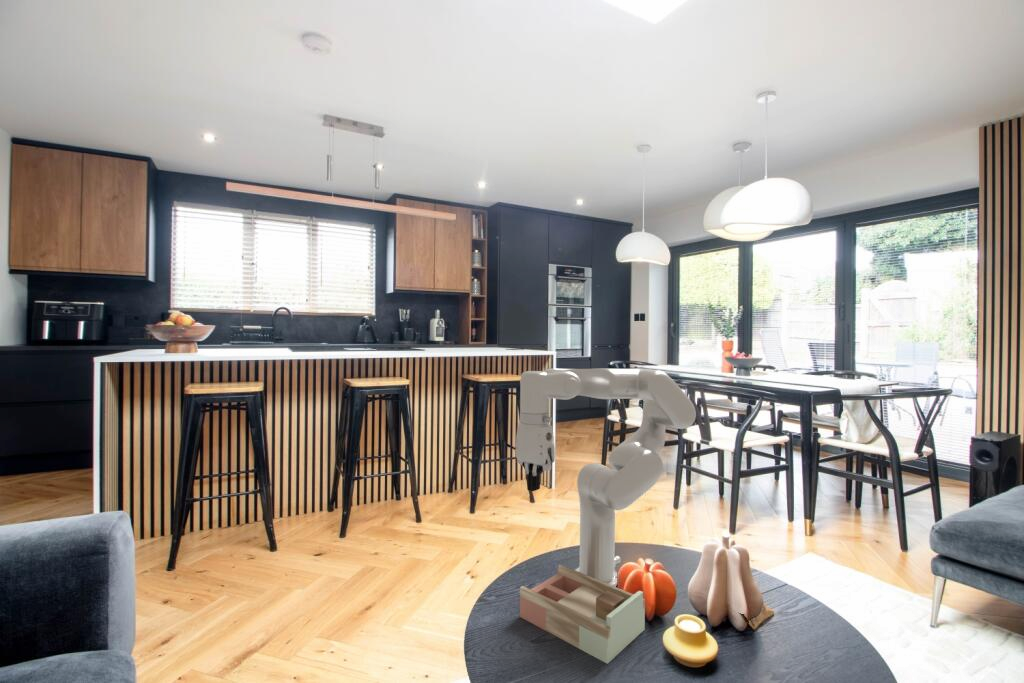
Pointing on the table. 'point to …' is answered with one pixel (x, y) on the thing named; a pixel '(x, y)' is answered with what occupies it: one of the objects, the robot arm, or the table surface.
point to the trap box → (583, 613)
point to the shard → (761, 617)
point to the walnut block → (607, 604)
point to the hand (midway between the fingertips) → (533, 489)
